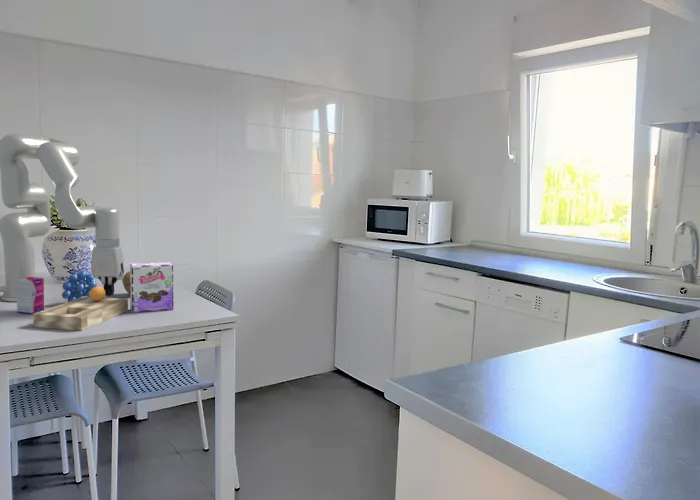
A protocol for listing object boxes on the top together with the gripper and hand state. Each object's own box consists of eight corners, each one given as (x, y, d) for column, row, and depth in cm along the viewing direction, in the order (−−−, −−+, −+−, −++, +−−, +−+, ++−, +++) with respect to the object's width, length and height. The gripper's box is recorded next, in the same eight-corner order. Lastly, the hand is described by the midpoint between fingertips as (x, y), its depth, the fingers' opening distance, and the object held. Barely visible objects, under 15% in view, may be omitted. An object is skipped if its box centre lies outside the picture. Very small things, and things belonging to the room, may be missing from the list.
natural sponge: (143, 291, 212) (142, 267, 211) (151, 296, 206) (150, 271, 204) (119, 294, 207) (119, 269, 205) (127, 298, 200) (126, 273, 199)
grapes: (92, 299, 198) (91, 267, 196) (99, 302, 193) (98, 270, 191) (58, 303, 190) (57, 270, 188) (64, 307, 185) (63, 273, 183)
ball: (86, 302, 177) (85, 287, 176) (95, 298, 182) (94, 284, 181) (99, 303, 176) (99, 288, 175) (108, 299, 181) (108, 285, 180)
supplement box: (32, 314, 174) (30, 280, 172) (16, 313, 175) (15, 279, 174) (45, 310, 180) (44, 277, 178) (30, 309, 181) (28, 276, 179)
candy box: (131, 313, 180) (130, 265, 178) (130, 309, 185) (129, 263, 183) (173, 310, 186) (173, 264, 184) (171, 306, 191) (170, 261, 189)
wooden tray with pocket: (33, 326, 161) (33, 313, 160) (85, 307, 185) (85, 296, 185) (81, 330, 159) (81, 317, 158) (128, 310, 183) (127, 299, 183)
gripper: (80, 243, 180) (82, 296, 183) (121, 245, 178) (122, 299, 181) (94, 241, 187) (95, 291, 190) (133, 243, 186) (134, 294, 188)
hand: (109, 295), depth 185 cm, fingers closed
